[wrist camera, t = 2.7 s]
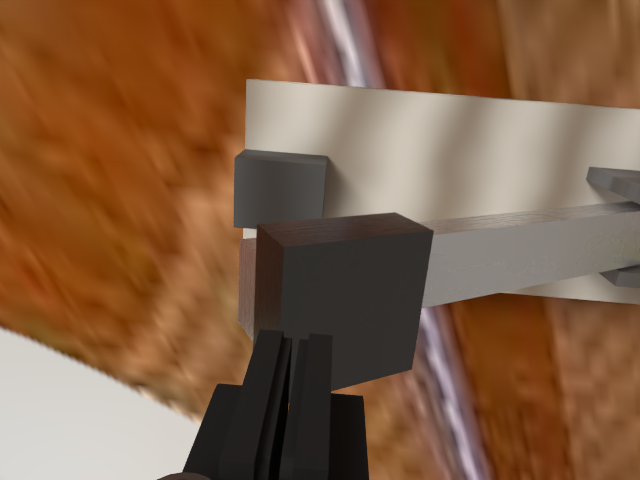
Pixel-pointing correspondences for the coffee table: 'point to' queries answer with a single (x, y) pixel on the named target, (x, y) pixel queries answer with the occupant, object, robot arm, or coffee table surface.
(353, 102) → the base
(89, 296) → the coffee table surface
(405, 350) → the lever
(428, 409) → the coffee table surface
